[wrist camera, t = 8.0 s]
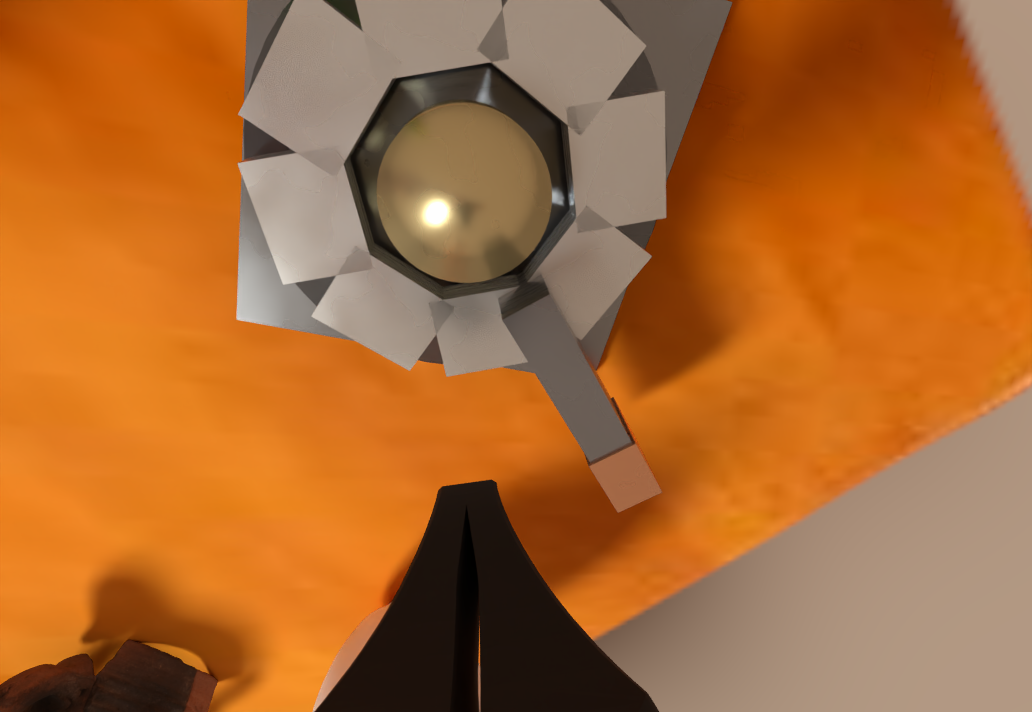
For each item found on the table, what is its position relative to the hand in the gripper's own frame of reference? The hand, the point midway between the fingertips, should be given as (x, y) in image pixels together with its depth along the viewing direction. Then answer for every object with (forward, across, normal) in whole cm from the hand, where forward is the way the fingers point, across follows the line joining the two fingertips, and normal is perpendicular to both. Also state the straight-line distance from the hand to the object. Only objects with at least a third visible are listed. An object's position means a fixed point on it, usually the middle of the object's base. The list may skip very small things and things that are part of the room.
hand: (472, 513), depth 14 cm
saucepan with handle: (+7, -3, -5) cm, 9 cm away
